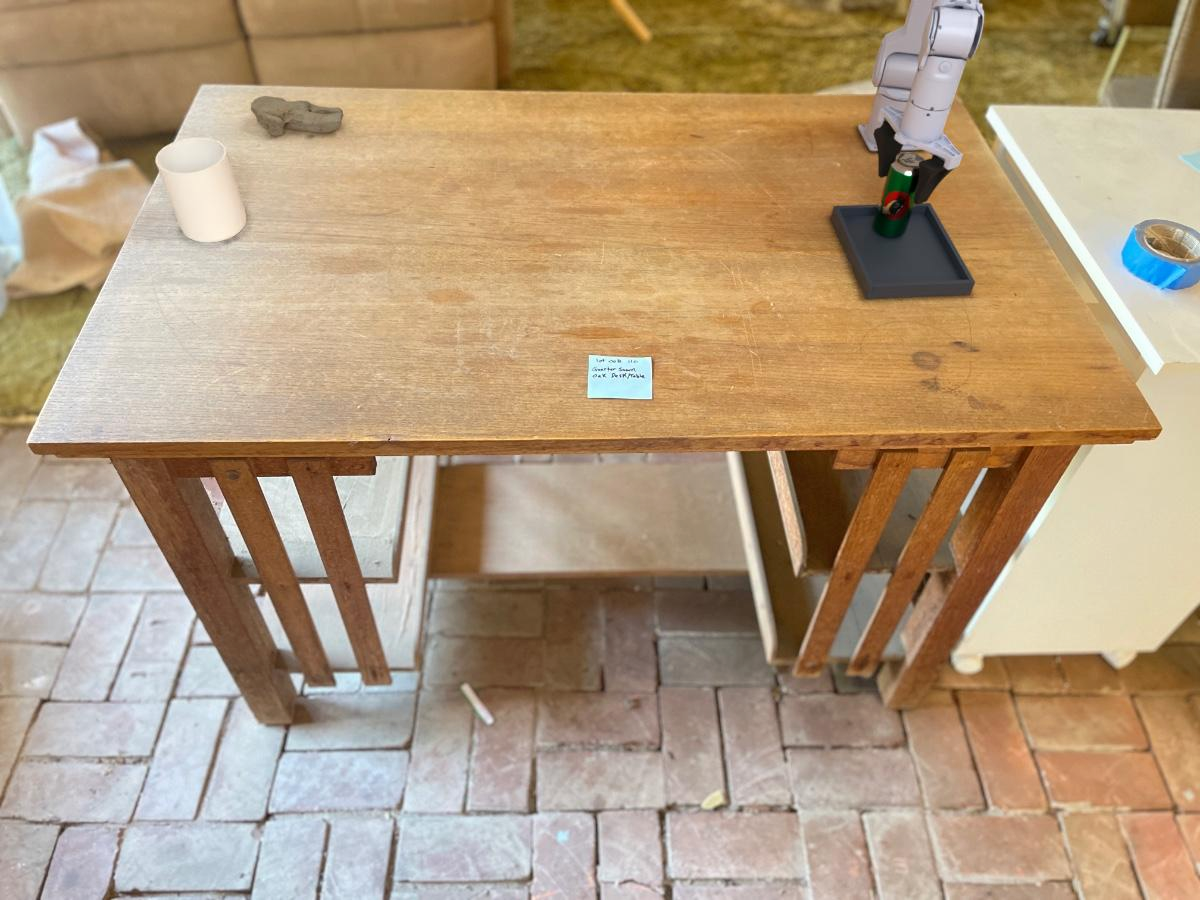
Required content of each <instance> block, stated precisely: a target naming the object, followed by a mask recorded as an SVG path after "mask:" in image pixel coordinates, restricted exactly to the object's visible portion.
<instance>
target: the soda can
mask: <svg viewBox="0 0 1200 900" xmlns="http://www.w3.org/2000/svg"><path fill="white" fill-rule="evenodd" d="M924 160H926V159H925V158H924V157H923V156H922V155H920V154H918V153H916V152H912V151H901V152H900V153H899V154H897V155H896V157H895V159H894V160H892V162H891V164H890V167H889V171H888V174H887V176H885V181H884V183H883V187H882V190H881V194H880V197H879V201H878V204H877V205H878V207H877V210H876V214H875V217H874V220H873V228H874V230H875V232H876V233H877V234H879V235H880V236H882V237H885V238H898V237H900V236H902V235H903V234H905V232H906V230H907V227H908V224H909V221H910V218H911V215H912V212H913V209H914V206H915V203H914V195H915V192H916V189H917V186H918V181H919V162H921V161H924Z"/></svg>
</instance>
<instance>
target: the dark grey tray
mask: <svg viewBox="0 0 1200 900" xmlns="http://www.w3.org/2000/svg"><path fill="white" fill-rule="evenodd" d="M877 207H878V204H852V205H851V204H850V205H849V204H848V205H847V204H846V205H833V206H832V211H831V214H830V220H831V223H832V225H833V227H834V230H835V232H836V235H837V237H838V239H839V241H840V244H841V246H842V249H843V251H844V253H845V255H846V257H847V260H848V262H849V264H850V266H851V270H852V272H853V273H854V276H855V279H856V280H857V282H858V285H859V286H860V290H861V292H862V294H863V296H864V298H865V299H864V300H872V299H873V300H876V299H899V298H900V299H901V298H903V299H904V298H925V297H951V296H952V297H953V296H954V297H955V296H970V295H971V293H972V291H973V289H974V287H975V284H976V281H975V280H974V277H973V276H972V273H971V272H970V271H969V269H968V267H967V265H966V263H965V262H964V260H963V258H962V256H961V254H960V252H959V251H958V249H957V248H956V246H955V244H954V243H953V240H952V239H951V237H950V235H949V234H948V231H947V230H946V228H945V227H944V224H943V223H942V221H941V219H940V218H939V216H938V214H937V212H936V210H935V209H934V207H933V206H932V204H931V203H930V202H924V203H921V204H918V205H916V204H915V206H914V209H913V212H912V215H911V218H910V221H909V224H908V227H907V230H906V232H905V234H903V235H902V236H900V237H898V238H885V237H882V236H880V235H879V234H877V233H876V232H875V230H874V228H873V220H874V217H875V214H876V210H877Z"/></svg>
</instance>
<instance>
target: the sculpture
mask: <svg viewBox="0 0 1200 900" xmlns="http://www.w3.org/2000/svg"><path fill="white" fill-rule="evenodd" d="M250 111H251V112H252V114H254V116H255V117H256V121H257V123H258V124H259V125H260V126H261V127H262V128H263V129H265V130H266V131H267V133H268V134H269V135H270V136H274V137H278V136H279V137H280V136H283V135H284V134H285V131H286V130H290V131H296V132H299V131H306V132H309V133H314V134H315V133H316V134H329V133H333V132H335V131H338V130H339V129H340V127H341V125H342V122H343V121H342V120H343V119H344V111H343V109H342V108H340V107H336V106H335V107H328V106H321V105H317V104H314V103H311V102H309V101H307V100H293V101H292V100H291V101H289V100H286V99H284V98H282V97H276V96H271V95H270V96H269V95H263V96H259V97H257V98H255V99H254V100H253V101H252V102H251V103H250Z"/></svg>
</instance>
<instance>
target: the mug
mask: <svg viewBox="0 0 1200 900" xmlns="http://www.w3.org/2000/svg"><path fill="white" fill-rule="evenodd" d="M154 161H155V164H156V168H157V170H158V171H159V175H160V177H161V181H162V183H163V185H164V188H165V191H166V194H167V196H168V199H169V202H170V204H171V207H172V209H173V212H174V215H175V217H176V218H175V219H176V220H177V223H178V225H179V228H180V231H182V233H183V235H184V236H185V237H187V238H188V239H190V240H191V241H192V240H193V241H195V242H199V243H208V244H212V243H220V242H224V241H226V240H229V239H231V238H234V237H235V236H236V235H238V234H239V233H240V232H241V231H242V230H243V228H245V226H246V224H247V212H246V208H245V205H244V203H243V199H242V196H241V193H240V189H239V186H238V183H237V180H236V176H235V172H234V170H233V166H232V163H231V160H230V156H229V154H228V150H227V148H226V146H225V144H223V143H222V142H221V141H219V140H217V139H214V138H209V137H201V136H200V137H197V136H196V137H187V138H183V139H178V140H175V141H173V142H171V143H170V142H169V144H167V145H166V146H164V147H162V148H161V149H160V150H159V151H158V152H157V154H156V156H155V160H154Z"/></svg>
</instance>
